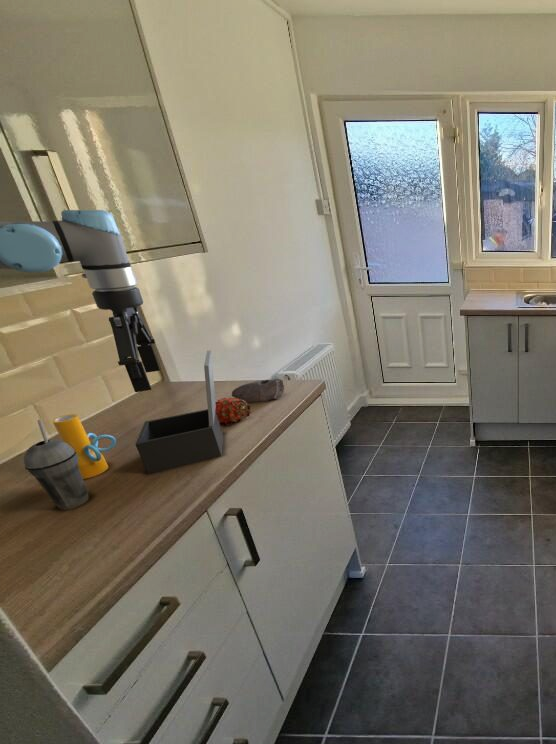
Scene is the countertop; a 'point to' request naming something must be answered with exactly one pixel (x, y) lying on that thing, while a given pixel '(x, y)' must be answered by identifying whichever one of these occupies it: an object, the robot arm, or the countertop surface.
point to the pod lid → (210, 387)
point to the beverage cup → (57, 471)
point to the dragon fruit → (231, 410)
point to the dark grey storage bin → (179, 441)
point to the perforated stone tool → (260, 391)
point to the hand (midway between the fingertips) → (148, 380)
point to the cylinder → (83, 445)
